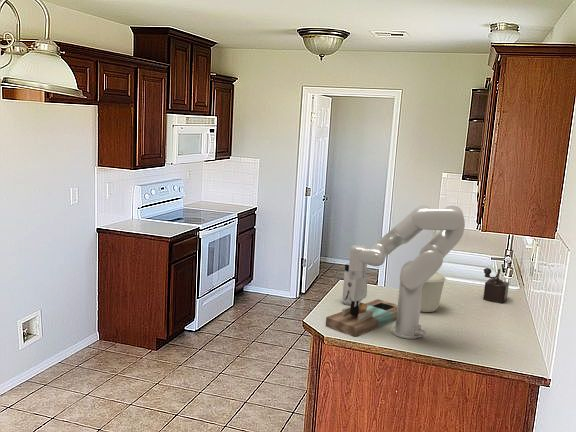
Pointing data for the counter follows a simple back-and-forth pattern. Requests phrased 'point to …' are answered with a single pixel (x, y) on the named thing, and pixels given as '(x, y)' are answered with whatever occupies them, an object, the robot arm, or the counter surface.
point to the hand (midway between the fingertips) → (353, 314)
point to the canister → (432, 293)
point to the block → (362, 308)
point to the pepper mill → (495, 288)
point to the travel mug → (345, 284)
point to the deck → (363, 318)
